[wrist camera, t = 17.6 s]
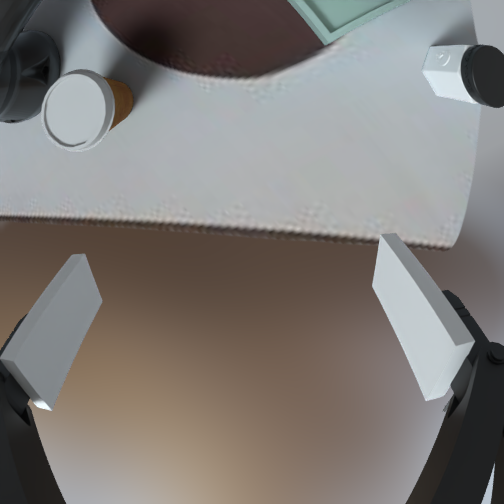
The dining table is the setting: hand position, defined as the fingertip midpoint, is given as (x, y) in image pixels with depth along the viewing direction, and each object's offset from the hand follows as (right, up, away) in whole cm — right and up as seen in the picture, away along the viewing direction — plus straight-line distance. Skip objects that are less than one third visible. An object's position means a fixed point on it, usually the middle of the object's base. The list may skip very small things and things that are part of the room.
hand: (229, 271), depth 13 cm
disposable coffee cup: (-18, +22, +24) cm, 37 cm away
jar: (+30, +28, +21) cm, 46 cm away
